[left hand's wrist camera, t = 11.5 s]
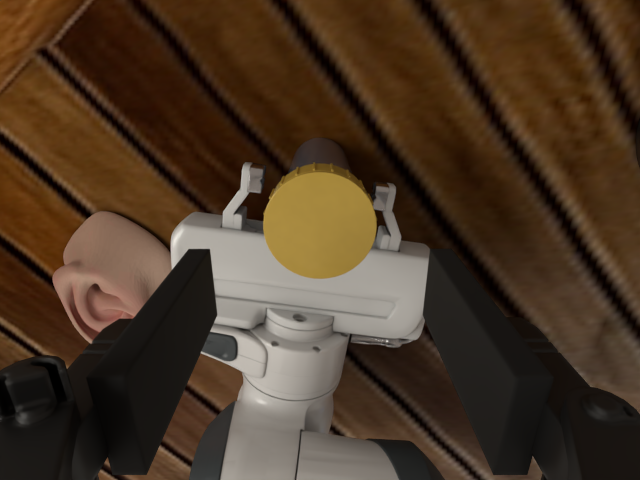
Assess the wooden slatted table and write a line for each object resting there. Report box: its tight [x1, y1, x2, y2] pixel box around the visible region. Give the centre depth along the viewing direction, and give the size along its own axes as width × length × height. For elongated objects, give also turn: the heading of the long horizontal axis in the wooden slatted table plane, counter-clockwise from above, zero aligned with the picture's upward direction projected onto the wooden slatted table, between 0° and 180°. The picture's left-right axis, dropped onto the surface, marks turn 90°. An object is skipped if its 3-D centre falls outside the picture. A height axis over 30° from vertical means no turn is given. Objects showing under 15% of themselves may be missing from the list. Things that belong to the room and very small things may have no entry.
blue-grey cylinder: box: [287, 138, 353, 175], centre depth 27 cm, size 5×5×16 cm
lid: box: [263, 162, 377, 279], centre depth 21 cm, size 6×6×2 cm
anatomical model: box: [53, 211, 172, 344], centre depth 37 cm, size 13×4×12 cm
